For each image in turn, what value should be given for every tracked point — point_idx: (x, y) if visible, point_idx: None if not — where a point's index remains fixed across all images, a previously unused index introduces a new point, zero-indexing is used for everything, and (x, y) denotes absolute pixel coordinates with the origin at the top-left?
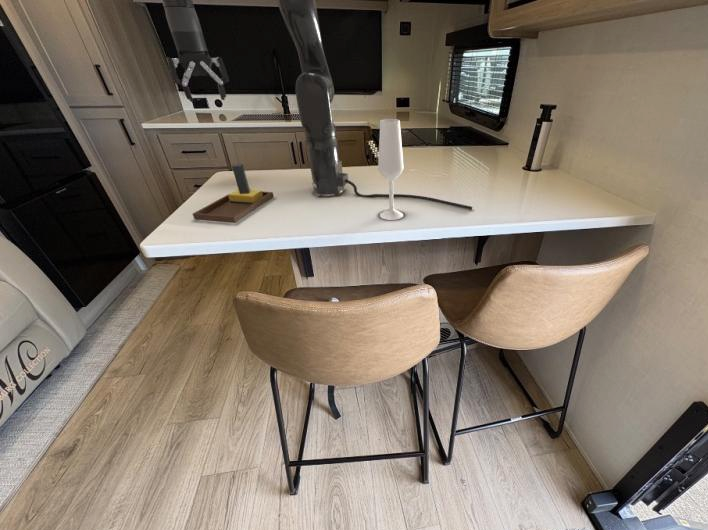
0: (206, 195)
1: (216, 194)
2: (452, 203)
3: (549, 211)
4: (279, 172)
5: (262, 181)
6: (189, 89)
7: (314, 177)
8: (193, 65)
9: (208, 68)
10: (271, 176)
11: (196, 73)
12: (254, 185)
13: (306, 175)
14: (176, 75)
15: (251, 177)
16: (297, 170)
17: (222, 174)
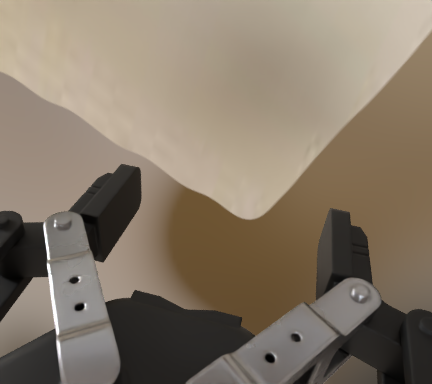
0: (396, 28)
1: (364, 15)
2: None
3: None
4: (111, 114)
5: (183, 56)
6: (332, 256)
7: None
8: (205, 381)
9: (68, 314)
10: (143, 90)
11: (213, 329)
12: (220, 28)
13: (39, 18)
14: (418, 368)
15: (199, 124)
16: (57, 95)
17: (260, 210)
